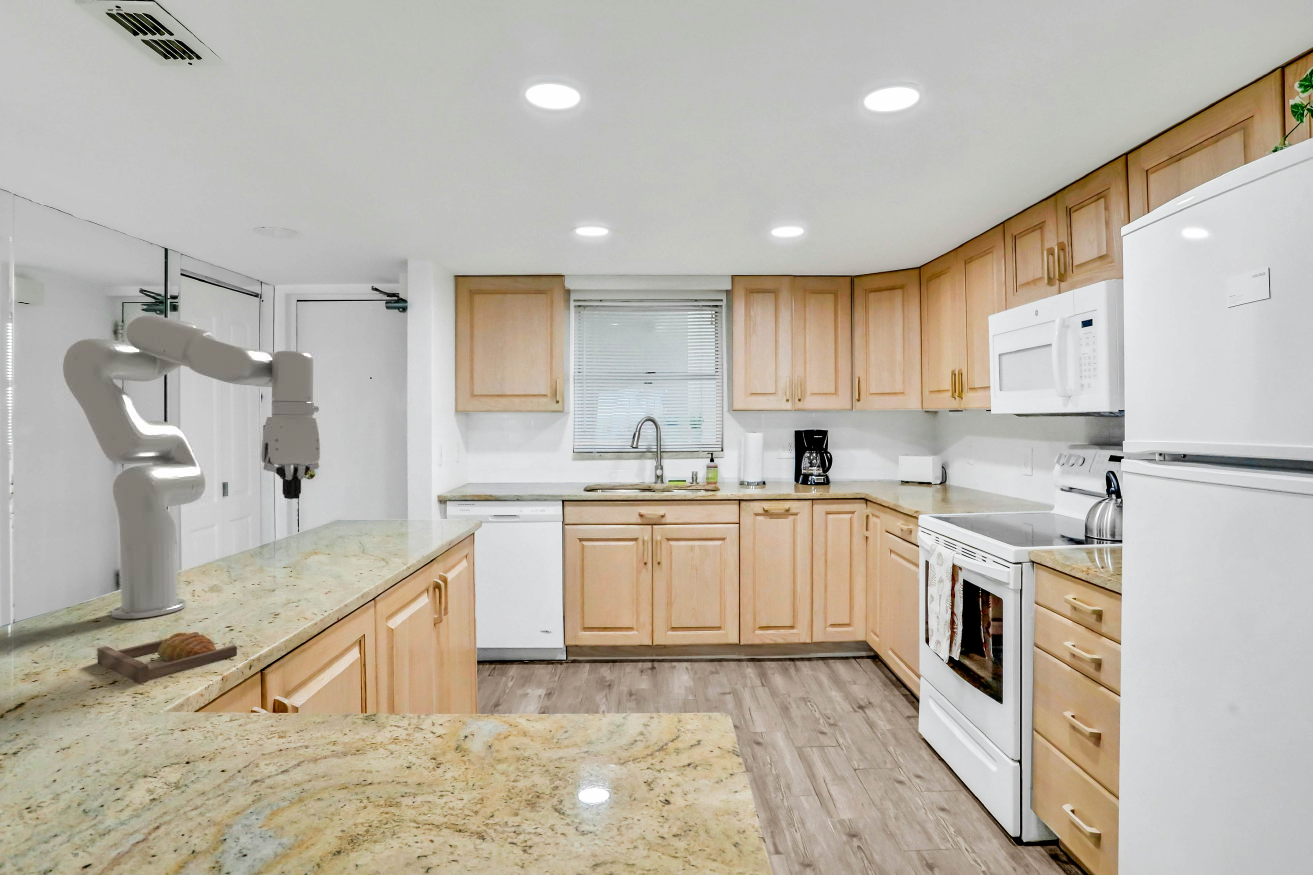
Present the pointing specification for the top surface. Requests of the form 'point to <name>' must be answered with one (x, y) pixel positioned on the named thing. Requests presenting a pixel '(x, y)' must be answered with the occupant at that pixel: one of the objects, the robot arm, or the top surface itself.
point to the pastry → (184, 646)
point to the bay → (142, 673)
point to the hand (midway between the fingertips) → (291, 498)
